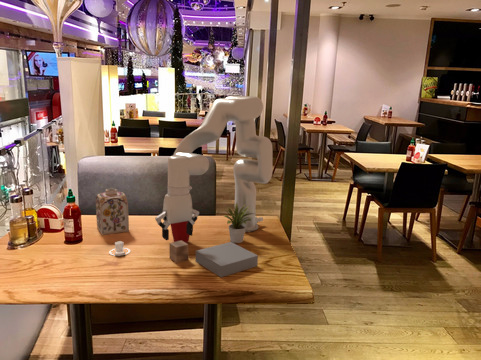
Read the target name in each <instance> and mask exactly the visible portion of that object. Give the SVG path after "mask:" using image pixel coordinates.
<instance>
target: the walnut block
mask: <svg viewBox="0 0 481 360" xmlns="http://www.w3.org/2000/svg"><path fill="white" fill-rule="evenodd" d="M169 259H170V260H171V261H173V262H174V263H176V264H179V263H181V262H184V261H189V243H185V242H183V241H182V240H181V241H177V242H174V241H172V242H169Z"/></svg>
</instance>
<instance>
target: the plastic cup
mask: <svg viewBox="0 0 481 360" xmlns="http://www.w3.org/2000/svg"><path fill="white" fill-rule="evenodd" d="M193 216H194V213H192V217H193ZM187 223H188V222H187V221H185V222H179V223H173V224H170V229H171V236H172V238H173V239H172V240H173V242H177V241H181V240H182V241H183V242H185V243H187V244H189V241H190V235H189V234H187V233H186V226H187Z"/></svg>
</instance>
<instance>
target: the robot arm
mask: <svg viewBox="0 0 481 360" xmlns="http://www.w3.org/2000/svg"><path fill="white" fill-rule="evenodd" d="M263 109H264V104H263V101H262V99H261V98H260V97H258V96H253V95H251V96H250V95H228V96H227V97H225V98H224V97H222V98H220V97H219V98H217V99H215V100H214V101H213V103H212V104H211V106H210V108H209V109H208V111H207V113H206V115H205V116H204V118H203V120H202V122H201V124H200V125H199V127H198V128H197V129H195V130H193V131H192V132H190V133H189V134H188V135H186V136H185V137H184V138H182V140H181V141H180V142H179V144H178V146H177V147H176V149H175V150H174V152H173V154H172V155H171V156H169V157H168V160H167V193H166V194H165V195H164V199H163V204H162V206H163V207H162V212H161V213H160V214H158V215H157V216H155V221H156V223H157V225H158V226H159V227H160V228H161V230H162V232H161V236H162V238H163V239H164V240H165V241H169V239H170V236H169V235H170V231H169V229H168V228H169V227H170V226H171V224H173V223H179V222H185V221H187V222H188V223H187V226H186V233H187V234H189V235H190V236H193V232H194V225H195V222H196V221H197V220H198V217H199V215H200V211H199V210H196V209H194V208H193V201H192V195H191V193H190V191H191V190H193V187H192V186H191V185H190V176H202V175H203V174H205V173H207V172H208V170H209V168H210V161H209V159H208V157H206V156H205V155H203V154H199V153H198V154H197V153H193V152H194V151H195V150H196V149H198V148H200V147H201V146H204V145H207V144H210V143H214V142H216V141H218V140H219V139H220V138H221V136H222V134H223V132H224V130H225V128H226V127H227V124H228V122H230V121H231V122H234V125H235V139H236V140H235V141H236V142H235V144H236V145H235V147H236V152H237V154H238V155H239V156H241V157H245V158H241V159H238V160H236V161H235V163H234V164H233V169H232V171H233V176H234V206H235V205H236V202H237V205H238V208H239V209H238V213H239V211H240V209H241V208H242V207H243V206H244V205H245V206H244V208H243V210H242V212H243V211H244V210H245V208H247V207H249V206H250V207H249V208H248V209H247V211H249V213H256V210H257V208H256V206H257V187H256V185H255V183H258V184H268V183H269V182H270V181H271V179H272V176H273V143H272V141H271V140H270V139H269V138H268V137H267V136H264V135H263V136H261V135H257V132H256V121H255V119H257V118H258V117H260V116H261V114H262V113H263V111H264V110H263ZM249 158H253V159H249ZM256 159H257V160H256ZM250 210H252V211H250ZM247 211H246V212H247ZM246 212H245V214H246ZM249 213H248V212H247V214H249ZM192 214H194V216H193V217H192ZM234 216H235V215H234ZM246 217H249V218H250V221H245V222H246V224H245V223H242V225H245V227H246V228H245V233H252V232H255V231H257V230H258V229H259V224H258V223H259V222H263V221H264V218H263V216H258V217H257V216H256V214H250V215H247V216H245V217H244V218H246ZM244 218H243V219H244ZM249 218H246V219H249ZM243 219H242V220H243ZM246 219H244V220H246ZM162 220H163V222H162ZM244 220H243V221H244ZM251 220H252V221H251ZM190 236H189V237H190Z"/></svg>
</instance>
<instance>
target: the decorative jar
mask: <svg viewBox="0 0 481 360" xmlns="http://www.w3.org/2000/svg"><path fill="white" fill-rule="evenodd" d="M95 211H96V214H95V215H96V216H95V217H96V227H97V229H98V231H99V233H100V235H102V236H104V235H110V234H111V235H112V234H119V233H124V232H125V233H127V232H129V231H130V224H129V223H130V221H129V220H130V219H129V201H128V199H127V195H126V193H124V192H122V191H118V189H116V188H106V189H105V191H104V192H100V193H98V194H96V197H95Z"/></svg>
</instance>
